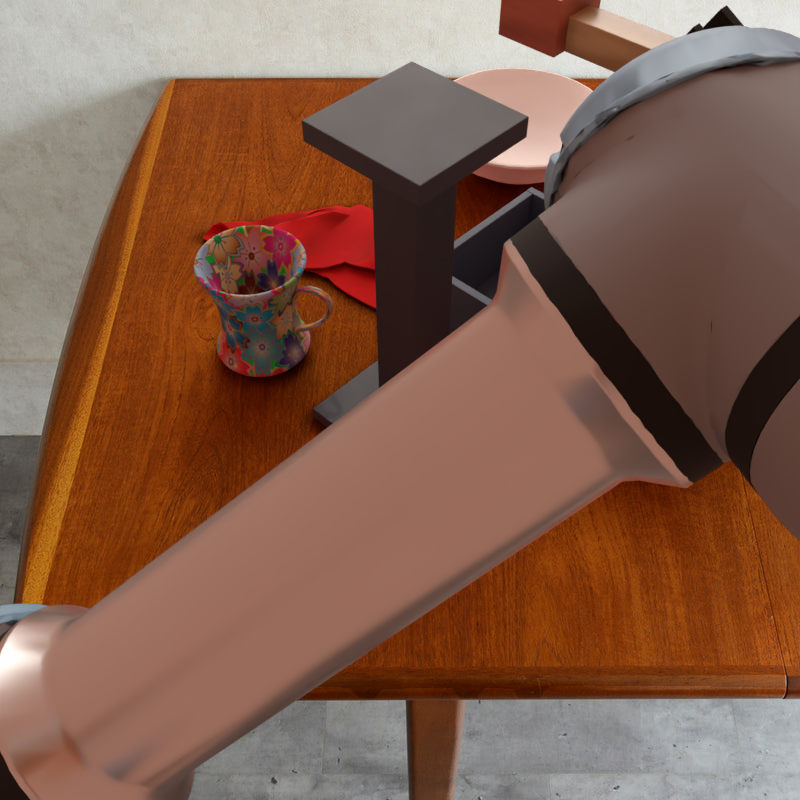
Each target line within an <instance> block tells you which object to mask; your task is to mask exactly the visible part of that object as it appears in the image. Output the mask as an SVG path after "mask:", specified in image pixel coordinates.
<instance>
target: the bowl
mask: <svg viewBox="0 0 800 800" xmlns="http://www.w3.org/2000/svg"><path fill="white" fill-rule="evenodd" d="M453 81H454V82H456V83H459V84H461V85H463V86H465V87H467V88H469V89H471V90H473V91H475V92H478V93H480V94H482V95H484V96H486V97H488V98H490V99H492V100H495V101H497V102H499V103H501V104H503V105H505V106H507V107H509V108H511V109H514V110H516V111H518V112H520V113H522V114H524V115H526V116H528V117H529V120H528V129H527V137H526V138H525V139H523V140H522V141H520V142H519V143H517V144H515V145H514V146H512V147H511V148H509V149H508V150H506V151H505V152H503V153H502V154H500V155H499V156H497V157H496V158H494V159H493V160H491V161H489V162H488V163H486V164H485V165H483V166H482V167H480V168H479V169H477V170H476V171H474V172H473V173H472V175H473V174H474V175H476V176H477V177H481V178H484V179H486V180H491V181H494V182H497V183H500V184H501V183H502V184H507V185H520V186H521V185H533V184H540V183H544V181H545V171H546V168H547V165H548V163H549V159H550V156H551V155H552V154H553V153H556V152H560V151H561V147H562V141H561V138H560V133H561V132H562V130H563V128H564V127H565V125H566V123H567V122H568V120H569V119H570V117H571V116H572V115H573V113H574V112H575V111H576V110H577V108H578V107H579V106H580V105H581V104H582V102H583V101H584V100H585V99H586V98H587V97H588V96H589V95H590V94H591V93H592V92H593V91H594V90H592V89H591V88H590V87H589V86H587V85H585V84H584V83H581V82H579V81H577V80H575V79H573V78H570V77H568V76H566V75H562V74H559V73H555V72H551V71H548V70H542V69H541V70H540V69H534V68H526V67H525V68H524V67H523V68H522V67H503V68H500V67H499V68H491V69H483V70H480V71H479V70H478V71H476V72H471V73H468V74H465V75H463V76H460V77H459V78H456V79H454V80H453Z"/></svg>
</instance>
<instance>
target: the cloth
mask: <svg viewBox="0 0 800 800" xmlns="http://www.w3.org/2000/svg"><path fill="white" fill-rule="evenodd" d="M248 225H264V226H271V227H275V228H279V229H282V230H284V231H286V232H288V233H290V234H292V235H293V236H294V237H296V238H297V239H298V240H299V241H300V242H301V244H302V245H303V247H304V249H305V252H306V266H305V269H304V271H307V272H311V273H314V274H317V275H319V276H320V277H321V278H327V279H329V281H330V282H331V283H332V284H333V285H334V286H335V287H336V288H338V289H339V290H341V291H342V292H344V293H345V294H346V295H348V296H350V297H352V298H353V299H355V300H357V301H359V302H361V303H363V304H365V305H366V306H369V307H371V308H373V309H375V310H376V286H375V255H374V225H373V208H371V207H368V206H365V205H364V204H360V203H357V204H355V205H353V206H350V207H348V206H343V205H338V204H337V205H332V206H327V207H321V208H317V209H310V210H305V211H303V210H302V211H294V212H288V213H281V214H275V215H270V216H268V217H264V218H260V219H257V220H253V221H243V220H237V221H229V222H220V221H218V222H217V223H216V222H215V223H214V224H212V225H211V226H210V228H208V230H207V231H206V232H205V234H204V235H203V236H202V237H203V238H202V239H203V240H204V241H206V242H207V241H208V240H209V239H211V238H212V237H214V236H216V235H217V234H219V233H221V232H224V231H226V230H229V229H232V228H236V227H241V226H248Z"/></svg>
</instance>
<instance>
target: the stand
mask: <svg viewBox="0 0 800 800" xmlns="http://www.w3.org/2000/svg"><path fill="white" fill-rule="evenodd" d="M528 120H529V117H528V116H526V115H524V114H522V113H520V112H518V111H516V110H514V109H511V108H509V107H507V106H505V105H503V104H501V103H499V102H497V101H495V100H492V99H490V98H488V97H486V96H484V95H482V94H480V93H478V92H475V91H473V90H471V89H469V88H467V87H465V86H463V85H461V84H459V83H456V82H454V80H452V79H450V78H448V77H446V76H444V75H442V74H440V73H438V72H436V71H433V70H431V69H429V68H427V67H424V66H422V65H420V64H418V63H416V62H414V61H410V62H407V63H406V64H404V65H402V66H400V67H398V68H396V69H395V70H393V71H391V72H389V73H387V74H385V75H383V76H382V77H380V78H378V79H376V80H374V81H372V82H370V83H369V84H367V85H365V86H363V87H362V88H359V89H358V90H355V91H354V92H352V93H350V94H348V95H346V96H343V98H341V99H338V100H337V101H335V102H333V103H332V104H329V105H328V106H326V107H324V108H322V109H320V110H319V111H316V112H315V113H313V114H311V115H309V116H307V117H306V118H304V119H302V120H301V128H302V129H301V130H302V139H303V142H305V143H306V144H307V145H309V146H310V147H311V146H312V147H313V148H315V149H316V150H318V151H320V152H322V153H323V154H325V155H326V156H329V157H330V158H332V159H333V160H336V161H337V162H339V163H341V164H343V165H345V166H346V167H348V168H350V169H351V170H353V171H355V172H356V173H358V174H360V175H362V176H363V177H366V179H369V180H370V181H371V190H372V191H371V192H372V209H373V225H374V255H375V286H376V309H375V311H376V313H375V314H376V315H375V316H376V342H377V343H376V345H377V360H376V361H374V362H373V363H372V364H370V365H368V367H366V368H365V369H363V370H362V371H361V372H360V373H358V374H357V375H356V376H355V377H353V378H351V379H350V380H348V382H346V383H345V384H343V385H342V386H341V387H340V388H338V389H337V390H335V391H334V392H333V393H332V394H330V395H329V396H328V397H326V398H325V399H323V401H321V402H320V403H318V404H317V405H316V406H314V407H313V408H312V414H313V418H314V419H315V420H316V421H318V422H319V423H320V424H322V426H324V427H325V428H328V427H329V426H330V425H331V424H333V423H334V422H335V421H337V420H338V419H339V418H341V417H342V416H343V415H345V414H346V413H347V412H349V411H350V410H351V409H352V408H354V407H355V406H356V405H358V404H359V403H360V402H362V401H363V400H364V399H366V398H367V397H368V396H370V395H371V394H372V393H373V392H375V391H376V390H377V389H379V388H380V387H381V386H383V385H384V384H385V383H387V382H388V381H389V380H391V379H392V378H393V377H394V376H396V375H397V374H398V373H400V372H401V371H402V370H404V369H405V368H406V367H408V366H409V365H410V364H412V363H413V362H414V361H415V360H417V359H418V358H419V357H421V356H422V355H423V354H425V353H426V352H427V351H429V350H430V349H431V348H433V347H434V346H435V345H436V344H438V343H439V342H440V341H442V340H443V339H444V338H446V337H447V336H448V335H449V330H450V311H451V292H452V273H453V254H454V241H455V232H456V215H457V214H456V213H457V196H458V195H457V193H458V183H459V182H460V181H463V179H466V178H467V177H468V176H470V175H471V174H473V172H474V171H476V170H477V169H479V168H480V167H482V166H483V165H485V164H486V163H488V162H489V161H491V160H493V159H494V158H496V157H497V156H499V155H500V154H502V153H503V152H505V151H506V150H508V149H509V148H511V147H512V146H514V145H515V144H517V143H519V142H520V141H522V140H523V139H525V138H526V137H527V129H528Z"/></svg>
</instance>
